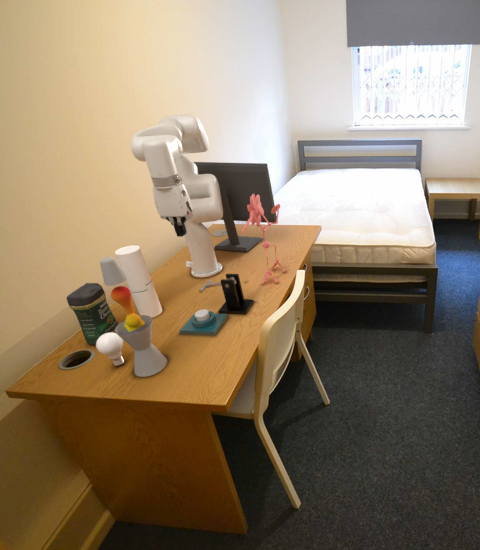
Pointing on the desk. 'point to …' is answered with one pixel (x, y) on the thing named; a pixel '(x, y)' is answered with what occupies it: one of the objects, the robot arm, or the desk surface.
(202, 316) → the flush button
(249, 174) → the computer monitor
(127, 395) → the desk surface
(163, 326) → the desk surface
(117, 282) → the lava lamp
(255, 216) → the figurine
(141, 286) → the cylindrical container
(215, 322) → the plate
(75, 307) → the coffee jar
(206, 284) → the flush lever
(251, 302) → the lever bracket
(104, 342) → the lightbulb
